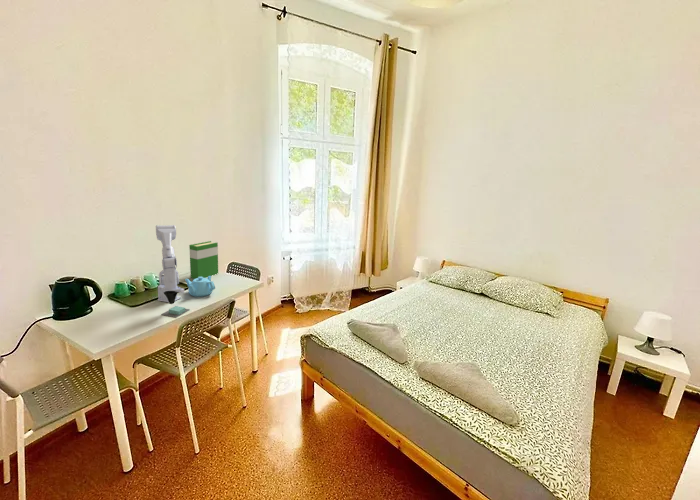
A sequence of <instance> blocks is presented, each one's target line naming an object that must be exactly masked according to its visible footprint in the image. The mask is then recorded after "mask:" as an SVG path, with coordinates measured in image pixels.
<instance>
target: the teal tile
mask: <svg viewBox="0 0 700 500" xmlns="http://www.w3.org/2000/svg"><path fill="white" fill-rule="evenodd" d="M185 309H186V307H185V306H184V307H183V306H178V305H175V306H173V307H171V308H169V309H168V310H169V313H172V314H177V315H179V314H181V313H183V312H185ZM185 313H186V312H185ZM183 314H184V313H183Z"/></svg>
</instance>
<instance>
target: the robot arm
mask: <svg viewBox="0 0 700 500" xmlns="http://www.w3.org/2000/svg"><path fill="white" fill-rule="evenodd" d="M155 234H156V239H157V241H160V242H161V244H162V249H161V254H162V256H161V257H162V258H161V263H162V265H161V267H162V270H160V271H159V273H158V276H159V277H158V279H159V281H158V283H159V285H157V296H158V299H157V301H159V302H165V303H169V304H170V305H173V304H174V303H175V302H176V301H177V300H180V299H181V296H178V294H179V293H180V294H183V293H185V288H182V287H180V286H178V285H179V284H180V277H179V272H178V270H177V267H178V261H177V256H176V255H175V253H176V252H175V247H173V246H172V241H173V240H174V241H175V240H176V236H177V228H176V225H175V224H171V225H170V224H166V225H165V224H163V225H161V224H159V225H158V224H157V225H155Z"/></svg>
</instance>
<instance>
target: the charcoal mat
mask: <svg viewBox="0 0 700 500" xmlns="http://www.w3.org/2000/svg"><path fill="white" fill-rule="evenodd" d="M189 311H190V308H185V312H183V313H181V314H179V315H177V314H172V313H169V309H168V310H166V311H165V312H163V313H160V314H161V316H165V317H172V318H178V317H180V316H182V315H183V314H185V313H187V312H189Z"/></svg>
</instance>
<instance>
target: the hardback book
mask: <svg viewBox="0 0 700 500" xmlns="http://www.w3.org/2000/svg"><path fill="white" fill-rule="evenodd" d="M188 246H189V247H188V248H189V249H188V250H189V269H190V279H192V280H194V279H196V278H198V277H203V278H208V276H211V277H212V275H213V276H216V275H218V274H219V250H218V249H219V247H218V246H219V245H218V242H212V241H211V240H208V241H205V242H204V241H203V242H198V243H194V244H189V245H188ZM217 273H218V274H217ZM215 274H216V275H215Z"/></svg>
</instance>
